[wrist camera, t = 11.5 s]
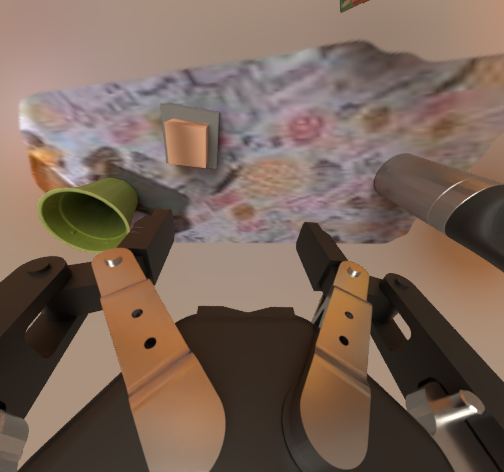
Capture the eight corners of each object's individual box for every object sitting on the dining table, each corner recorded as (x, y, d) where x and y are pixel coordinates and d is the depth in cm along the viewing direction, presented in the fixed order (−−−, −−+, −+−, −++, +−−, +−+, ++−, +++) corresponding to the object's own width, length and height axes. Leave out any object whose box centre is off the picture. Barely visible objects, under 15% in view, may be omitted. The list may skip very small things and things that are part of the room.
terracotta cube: (208, 124, 28) (205, 128, 24) (208, 158, 31) (205, 167, 27) (173, 118, 27) (164, 121, 23) (176, 154, 30) (168, 163, 26)
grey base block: (219, 111, 31) (218, 114, 27) (217, 161, 36) (216, 169, 32) (169, 102, 30) (160, 103, 26) (173, 155, 34) (166, 163, 30)
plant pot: (138, 228, 43) (114, 263, 34) (77, 199, 37) (29, 231, 28) (161, 190, 38) (141, 218, 29) (95, 150, 33) (46, 170, 24)
